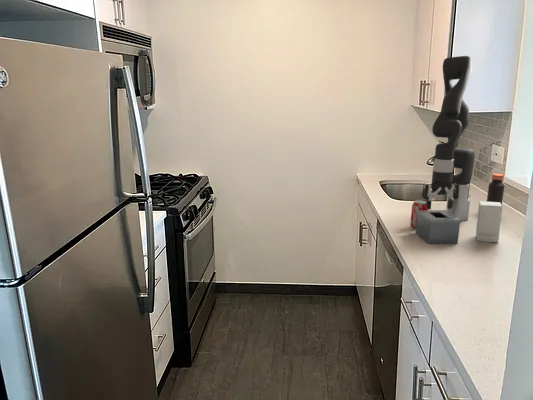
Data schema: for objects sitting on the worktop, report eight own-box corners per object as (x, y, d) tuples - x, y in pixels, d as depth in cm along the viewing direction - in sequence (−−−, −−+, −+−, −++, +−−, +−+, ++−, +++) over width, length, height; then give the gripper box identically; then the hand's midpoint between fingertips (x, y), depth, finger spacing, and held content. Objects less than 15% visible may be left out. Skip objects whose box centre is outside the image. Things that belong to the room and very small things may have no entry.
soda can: (427, 230, 202) (430, 204, 199) (411, 229, 203) (413, 203, 200) (425, 225, 208) (428, 200, 205) (409, 224, 210) (411, 199, 207)
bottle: (485, 215, 224) (490, 175, 219) (484, 212, 230) (489, 172, 225) (500, 217, 221) (506, 176, 216) (499, 213, 227) (505, 173, 222)
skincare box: (496, 238, 192) (501, 202, 188) (498, 243, 186) (503, 206, 182) (474, 236, 195) (478, 200, 191) (475, 241, 189) (480, 204, 185)
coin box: (442, 232, 199) (445, 210, 197) (457, 243, 186) (460, 219, 183) (415, 232, 199) (417, 210, 196) (428, 244, 185) (430, 220, 183)
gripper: (455, 168, 189) (451, 206, 193) (421, 168, 188) (418, 206, 192) (464, 171, 182) (460, 211, 186) (429, 171, 181) (425, 211, 185)
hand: (438, 208), depth 189 cm, fingers open, 8 cm apart
